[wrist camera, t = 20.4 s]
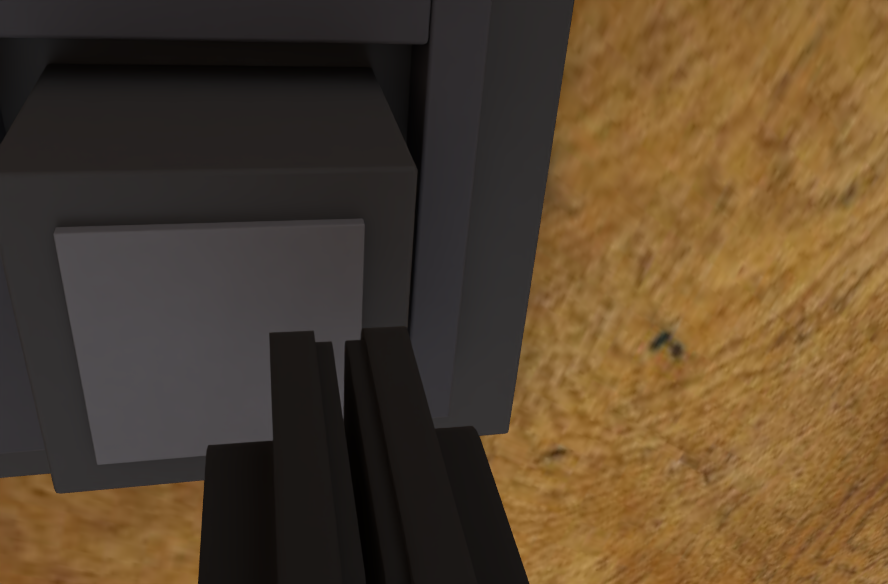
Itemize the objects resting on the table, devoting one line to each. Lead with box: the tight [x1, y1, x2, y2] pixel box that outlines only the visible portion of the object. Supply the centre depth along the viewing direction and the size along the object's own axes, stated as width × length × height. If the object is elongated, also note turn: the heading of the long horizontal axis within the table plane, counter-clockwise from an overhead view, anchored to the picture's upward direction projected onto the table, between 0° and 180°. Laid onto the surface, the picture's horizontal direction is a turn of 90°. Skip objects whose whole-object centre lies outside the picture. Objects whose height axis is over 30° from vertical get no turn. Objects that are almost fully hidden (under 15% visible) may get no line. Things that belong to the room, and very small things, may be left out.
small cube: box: [0, 64, 418, 493], centre depth 14 cm, size 6×6×5 cm
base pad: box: [0, 0, 574, 478], centre depth 16 cm, size 13×13×2 cm
